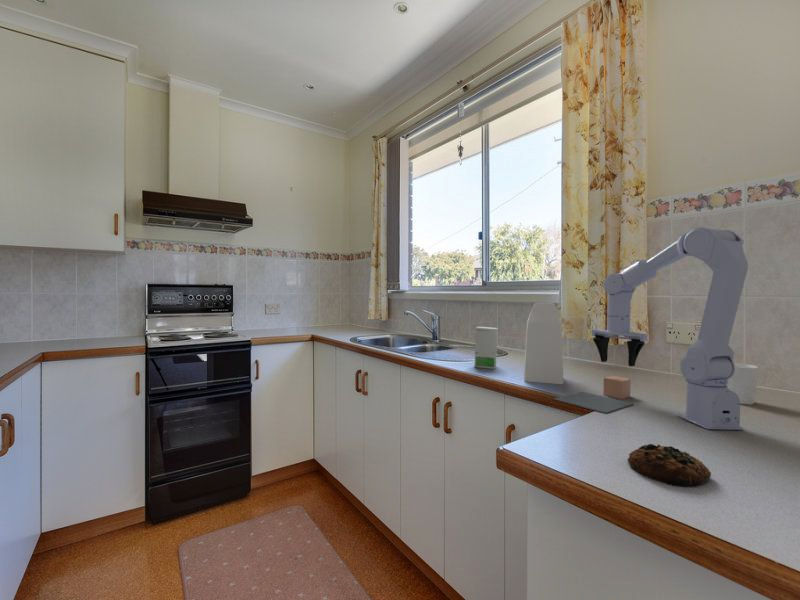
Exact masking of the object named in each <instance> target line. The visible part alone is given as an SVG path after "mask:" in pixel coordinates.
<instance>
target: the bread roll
mask: <svg viewBox="0 0 800 600" xmlns="http://www.w3.org/2000/svg"><path fill="white" fill-rule="evenodd" d="M628 455H629V456H628V458H627V462H628V463H627V464H628V465H629V466H630V467H631V468H632V469H633V470H635V471H636V472H638V473H639V474H641V475H643V476H645V477H647V478H649V479H651V480H653V481H657V482H659V483H662V484H667V485H670V486H674V487H683V488H686V487H688V486H689V487H695V488H696V487H697V486H699V487H700V486H703V485H704V483H709V481H710V478H711V475H712V473H711V471H710V470H709V468H708V467H707V466H706V465H705V464H704V463H703V462H702V461H700V459H698V458H696V457H694V456H692V455H690V453H688V452H687V451H681V450H680V449H678V448H675V447H674V446H671V445H670V446H666V445H665V446H664V445H662V446H661V444H659V443H658V444H657V445H655V444H653V443H649V444H647V445H646V444H643V445H641V446H640V447H638V448H636V449H635V450H632V451H631V452H630V453H629V454H628Z"/></svg>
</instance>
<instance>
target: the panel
mask: <svg viewBox="0 0 800 600" xmlns="http://www.w3.org/2000/svg"><path fill="white" fill-rule="evenodd" d="M553 400H554V401H556V402H560V403H565V404H569V405H572V406H576V407H579V408H583V409H587V410H590V411H595V412H597V413H602V414H604V415H605V414H609V413H612V412H615V411H618V410H622V409H624V408H628V407H631V406H634V403H632V402H628V401H623V400H619V399H617V398H616V399H615V398H612V397H608V396H607V397H606V396H604V395H603V396H602V395H597V394H593V393H589V392H585V391H581V392H576V393H572V394H567V395H564V396H560V397H555V398H553Z"/></svg>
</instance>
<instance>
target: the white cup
mask: <svg viewBox="0 0 800 600" xmlns="http://www.w3.org/2000/svg"><path fill="white" fill-rule="evenodd" d="M734 365H735V373H734V375H733V376H732V377H731V378H729V379H728V384H727V387H728V388H729V389H730V390H731V391H733V392H735V393H736V394H737V395H738V397H739V399H740V405H754V404H755V401H756V400H755V399H756V393H757V386H758V377H759V376H758V375H759V374H758V372H759V367H758V366H757V365H753V364H748V363H747V364H746V363H738V362H734Z"/></svg>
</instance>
